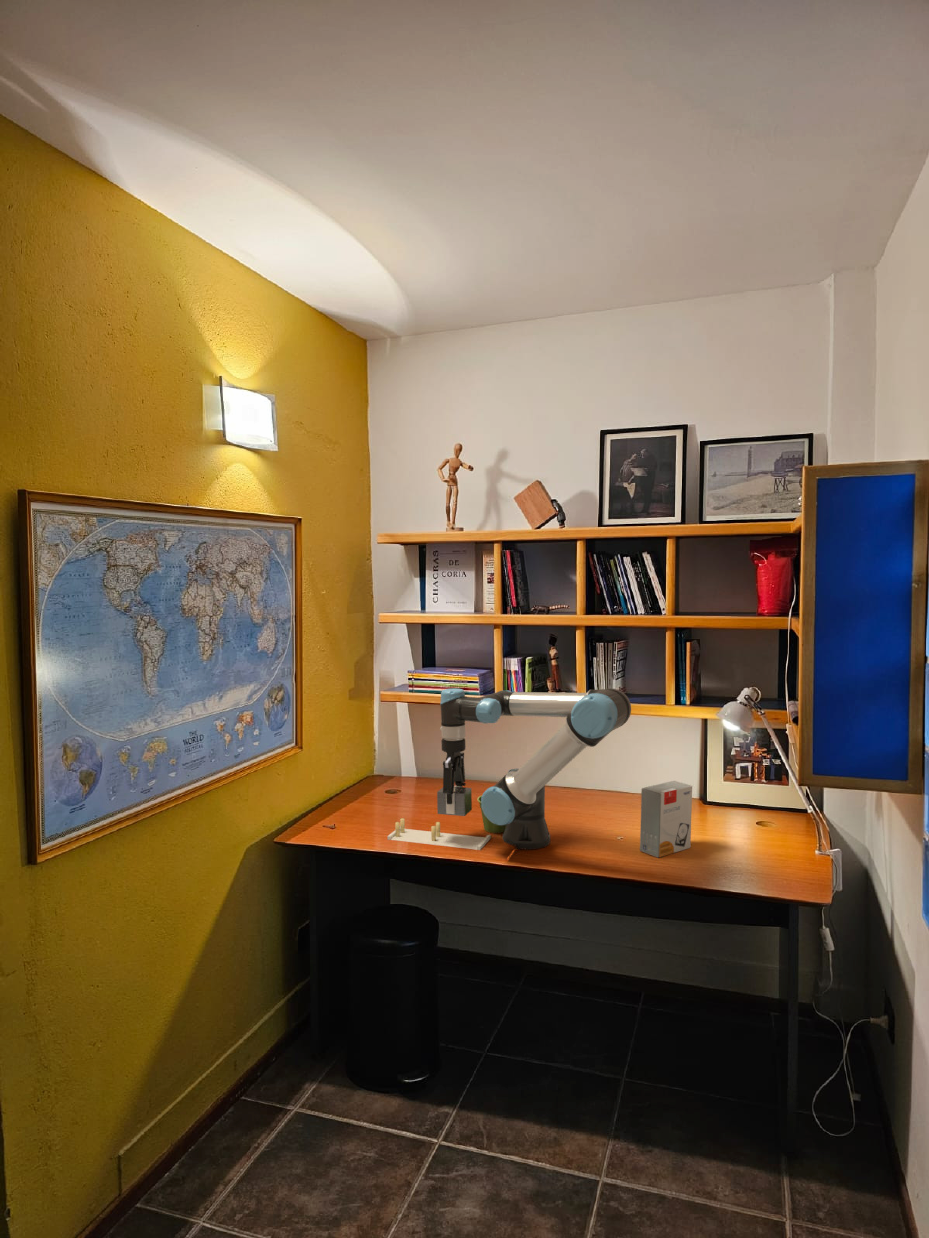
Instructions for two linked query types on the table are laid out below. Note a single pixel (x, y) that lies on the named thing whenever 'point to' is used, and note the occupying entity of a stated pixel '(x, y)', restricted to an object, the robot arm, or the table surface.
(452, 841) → the tray
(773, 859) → the table surface
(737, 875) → the table surface
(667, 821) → the hard drive box
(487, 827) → the plant pot
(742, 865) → the table surface
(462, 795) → the block
